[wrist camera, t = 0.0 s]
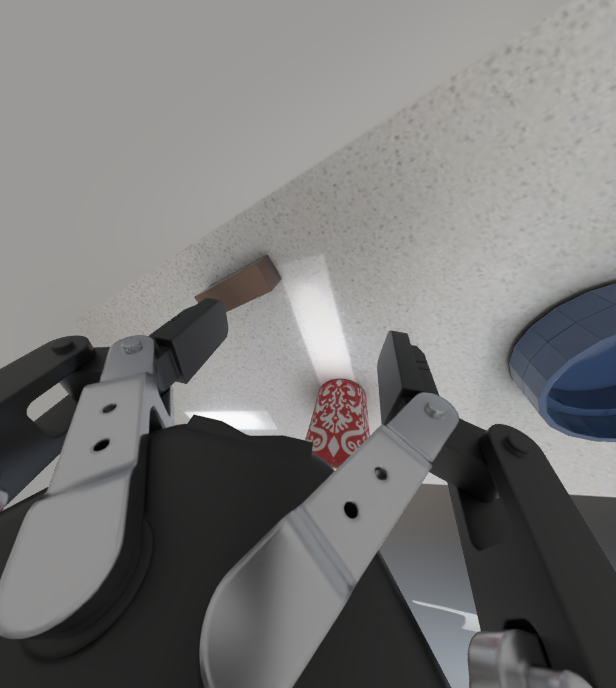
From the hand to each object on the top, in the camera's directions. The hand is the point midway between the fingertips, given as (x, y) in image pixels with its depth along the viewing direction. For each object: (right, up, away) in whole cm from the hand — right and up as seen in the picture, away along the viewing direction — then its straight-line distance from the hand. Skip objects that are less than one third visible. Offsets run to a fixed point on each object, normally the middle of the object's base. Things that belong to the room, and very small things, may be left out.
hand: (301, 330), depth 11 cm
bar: (-7, +7, +16) cm, 19 cm away
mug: (+6, -10, +25) cm, 28 cm away
